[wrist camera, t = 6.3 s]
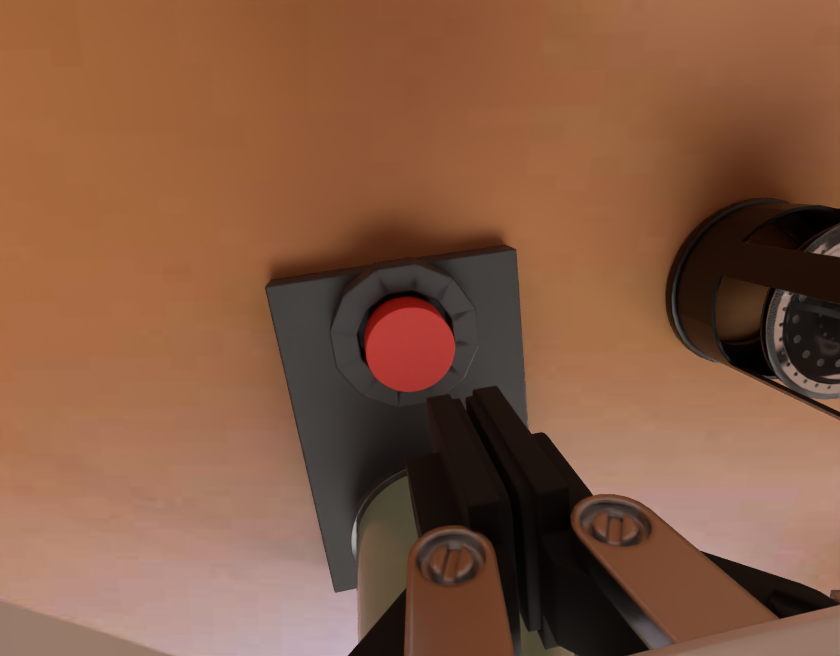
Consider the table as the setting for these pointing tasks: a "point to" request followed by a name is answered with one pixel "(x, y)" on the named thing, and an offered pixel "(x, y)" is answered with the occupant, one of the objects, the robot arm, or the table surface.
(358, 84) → the table surface
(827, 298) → the french press
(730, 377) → the table surface
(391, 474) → the kettle
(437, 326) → the power button
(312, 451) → the base
